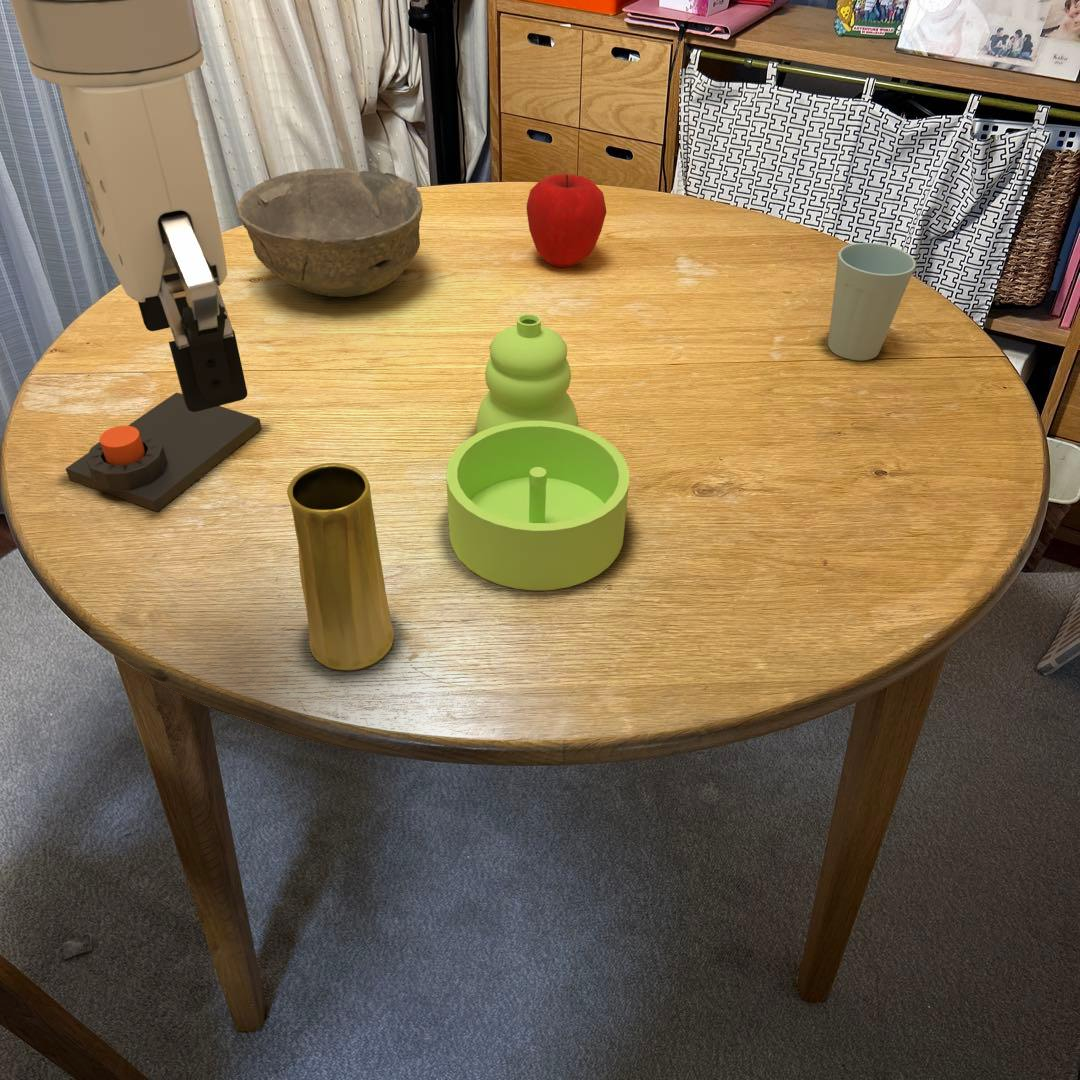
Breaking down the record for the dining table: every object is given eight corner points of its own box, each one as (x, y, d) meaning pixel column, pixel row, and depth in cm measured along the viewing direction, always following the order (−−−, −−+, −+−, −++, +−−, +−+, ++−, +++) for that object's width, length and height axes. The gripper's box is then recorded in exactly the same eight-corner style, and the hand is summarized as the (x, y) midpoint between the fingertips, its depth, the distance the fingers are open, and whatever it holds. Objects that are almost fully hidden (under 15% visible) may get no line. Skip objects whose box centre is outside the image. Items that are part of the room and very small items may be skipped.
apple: (604, 279, 116) (610, 190, 109) (525, 277, 116) (526, 188, 109) (601, 245, 124) (606, 159, 117) (526, 243, 124) (527, 157, 117)
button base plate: (152, 515, 81) (144, 487, 79) (64, 482, 84) (53, 454, 82) (262, 429, 91) (256, 402, 89) (179, 402, 94) (172, 375, 92)
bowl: (283, 340, 104) (268, 251, 97) (230, 265, 117) (213, 183, 110) (457, 300, 111) (454, 215, 105) (388, 234, 125) (382, 156, 118)
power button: (126, 470, 81) (119, 450, 80) (97, 460, 82) (90, 440, 81) (153, 450, 83) (147, 431, 82) (125, 441, 84) (118, 421, 83)
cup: (816, 360, 103) (838, 268, 96) (817, 327, 108) (838, 238, 102) (889, 370, 102) (917, 278, 95) (886, 336, 107) (913, 247, 100)
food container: (635, 587, 75) (650, 456, 67) (449, 593, 74) (442, 462, 66) (598, 411, 94) (606, 293, 86) (449, 414, 93) (443, 295, 85)
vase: (363, 599, 74) (341, 447, 64) (411, 643, 70) (396, 489, 61) (293, 637, 71) (261, 483, 61) (340, 685, 67) (313, 530, 58)
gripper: (-2, -3, 48) (96, 312, 59) (53, 93, 36) (162, 459, 48) (153, -17, 50) (219, 286, 62) (249, 68, 39) (308, 420, 50)
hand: (194, 361), depth 55 cm, fingers open, 9 cm apart
